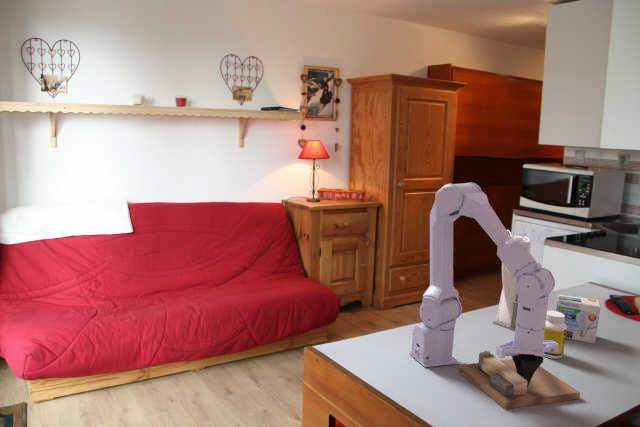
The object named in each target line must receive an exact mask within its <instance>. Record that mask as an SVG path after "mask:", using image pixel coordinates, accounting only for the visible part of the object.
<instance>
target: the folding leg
mask: <svg viewBox="0 0 640 427" xmlns="http://www.w3.org/2000/svg"><path fill="white" fill-rule="evenodd" d="M477 363H478V367H479V368H480V369H481V370H483V371H484V372H485V373H487V374H488V375H489V376H490V377H491V374H500V375H501V376H503V377H504V378H505V379H507V380H508V381H509V382H511V383H512V384H513V394H512V395H514V396H515V395H523V394H526V390H527V382H528V381H527V380H526V379H524V378H523V377H522V376H520V375H519V374H518V373H516V372H515V371H514V370H512V369H511V368H509V367H508V366H507V365H505V364H504V363H503V362H501V360H500V359H499V358H498V357H496V355H494V354H493V353H491V351H489V350H484V351H481V352H479V354H478V362H477Z"/></svg>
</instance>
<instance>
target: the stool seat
mask: <svg viewBox="0 0 640 427" xmlns="http://www.w3.org/2000/svg"><path fill="white" fill-rule="evenodd" d="M500 361H501V362H503V363H504V364H505V365H507V366H508V367H509V368H511V369H512V370H514V371H515V372H516V373H517V370H516V366H515V363H514V361H513V358H512V359H503V360H500ZM458 371H459V372H460V373H461V374H462V375H463V376H464V377H466V378H467V379H468V380H469V381H470V382H472V383H473V384H474V385H475V386H476V387H478V388H479V389H480V390H481V391H482V392H484V394H486V395H487V396H488V397H490V398H491V399H492V400H493V401H494V402H495V403H497V404H498V405H499V406H500V407H501V408H502V409H503V410H508V409H515V408H516V409H517V408H522V407H523V408H524V407H529V406H537V405H543V404H551V403H559V402H564V401H573V400H579V399H580V393H581V392H580V391H579V390H577V389H575V387H572V385H570V384H569V383H566V382H565V381H564V380H563V379H560V378H559V377H558V376H556V375H554V373H553V374H552V373H551V372H550V371H549V370H547V369H545V368H543V367H542V366H541V365H540V366H539V367H538V368H537V370H536V371H535V373H534V375H533V377H532V379H531V381H530V383H529V385H528V387H527V390H526V394H523V395H515V396H514V395H512V394H513V384H512V383H511V382H509V381H508V380H507V379H505V378H504V377H503V376H501V375H500V374H491V377H490V376H489V375H488V374H487V373H485V372H484V371H483V370H481V369H480V368H479V367H478V362H476V363H464V364H459V369H458Z"/></svg>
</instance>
